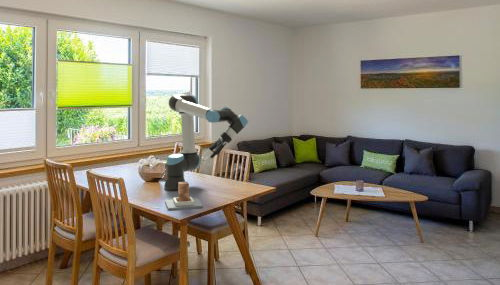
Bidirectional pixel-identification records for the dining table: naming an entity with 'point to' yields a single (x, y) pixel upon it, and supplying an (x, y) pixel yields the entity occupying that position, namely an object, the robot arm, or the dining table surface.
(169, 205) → the baseplate
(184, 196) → the pillar
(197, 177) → the dining table surface
